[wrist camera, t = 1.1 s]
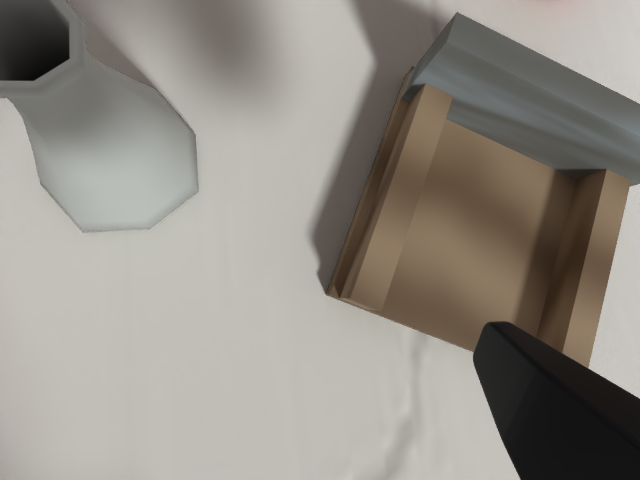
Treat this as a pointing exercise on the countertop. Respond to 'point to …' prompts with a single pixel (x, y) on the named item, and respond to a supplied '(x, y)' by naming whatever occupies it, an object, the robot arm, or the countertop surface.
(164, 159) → the flask
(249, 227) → the countertop surface
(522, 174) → the stand
